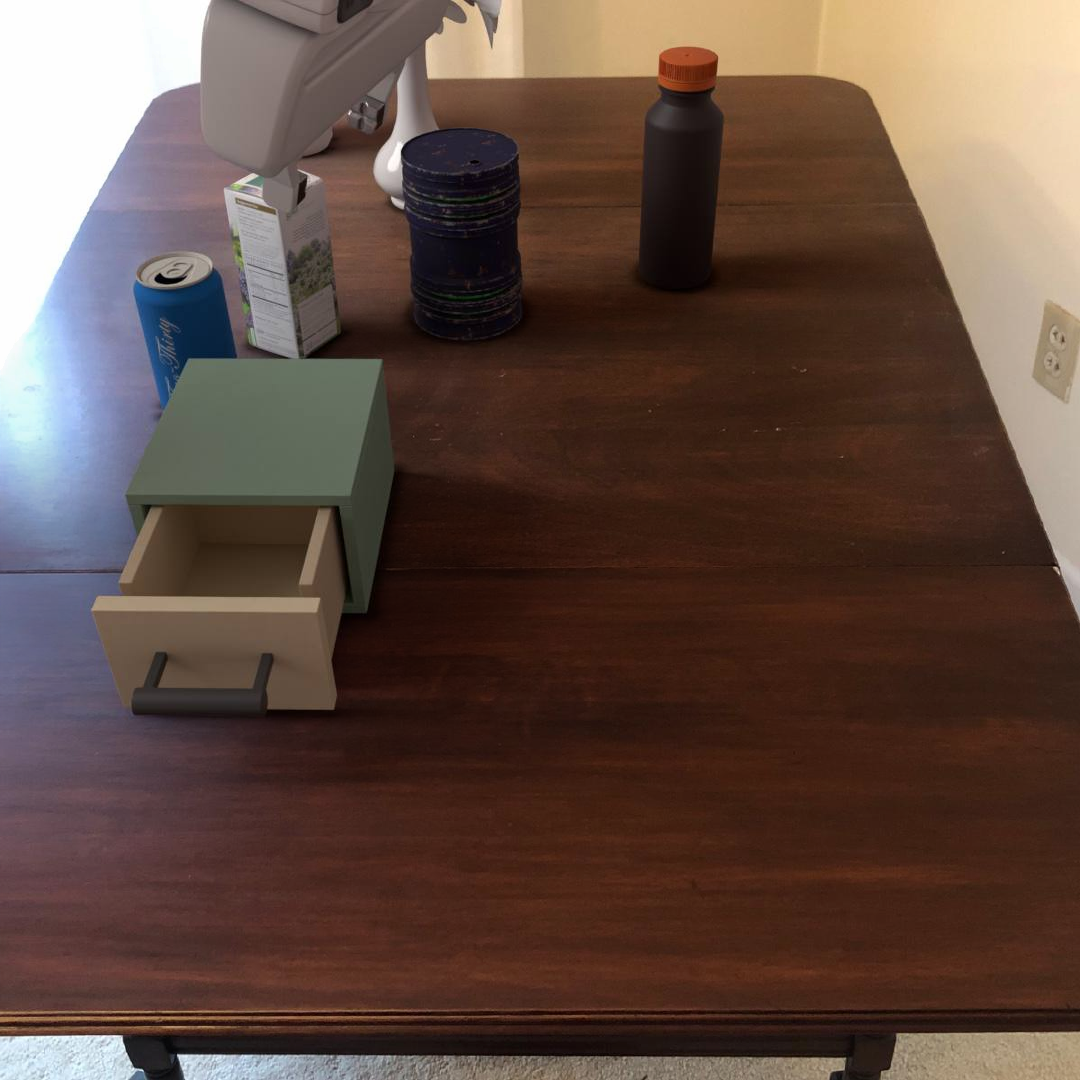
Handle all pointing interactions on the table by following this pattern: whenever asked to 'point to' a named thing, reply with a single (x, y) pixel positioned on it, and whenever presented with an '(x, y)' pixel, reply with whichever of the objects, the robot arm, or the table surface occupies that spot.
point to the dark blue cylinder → (463, 231)
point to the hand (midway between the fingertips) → (326, 162)
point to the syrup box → (284, 268)
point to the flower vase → (419, 102)
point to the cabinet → (277, 447)
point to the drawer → (228, 611)
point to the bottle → (681, 171)
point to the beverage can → (181, 315)
